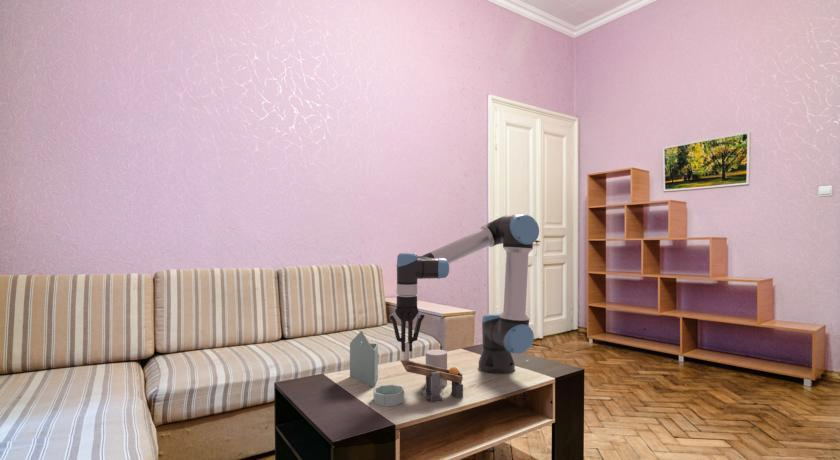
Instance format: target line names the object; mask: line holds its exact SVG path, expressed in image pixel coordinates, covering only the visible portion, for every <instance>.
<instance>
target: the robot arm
mask: <svg viewBox="0 0 840 460" xmlns="http://www.w3.org/2000/svg"><path fill="white" fill-rule="evenodd" d="M539 234H540V226H539V223H538V222H537V220H535V218H534V217H533V216H532V215H528V214H524V213H523V214H522V213H519V214H510V215H509V214H508V215H504V216H500V217H498V218H496V219H494V220H492V221H490V222H488V223H486V224H485V225H482V226H480V229H479V230H476V231H475V232H471V233H470V234H467V235H465V236H463V237H461V238H459V239H456V240H454V241H452V242H449V243H447V244H446V245H444V246H441V247H439V248H436V249H434V250H431V251H429V252H426V254H423V255H418V254H417V253H415V252H410V253H409V252H401V253H399V254H397V257H396V295H397V296H396V308H395V310H394V312H393V313H392V314H389V315H388V316H389V319H390V320H391V321H392V328H393V332H394V335H395V336H394V337H395V339H396V342H399V343H400V345H401V346H400V350H401V352H402V353H403V359H404V360H407V361H409V360H410V352H412V351H413V343H414V342H416V341H417V340H418V338H419V334H420V329H421V324H422V321H423V320H424V318H425V314H423V313H421V312H420V311H419V308H418V279H419V280H422V279H424V280H428V279H432V280H433V279H439V280H440V279H446V278H447V277H448V276H449V273H450V264H451V263H453V262H456V261H458V260H460V259H463V258H465V257H467V256H469V255H471V254H474V253H475V252H477V251H478V252H479V251H480V250H483V249H484V248H486V247H489V248H493V247H494V246H497V245H498V246H499V245H502V249H503V250H504V251H505V252H506V256H505V276H504V291H503V293H504V294H503V295H504V296H503V297H504V298H503V312H502V313H487V314H484V315H483V316H482V318H481V319H482V320H481V326H482V327H481V328H482V329H481V332H482V337H481V338H482V340H481V341H482V349H481V352H480V353H481V354H480V356H479V360H478V369H479V370H480V371H482V372H485V373H490V374H509V373H513V372H514V371H515V368H516V365H515V361H514V358H513V354H517V355H519V354H523V353H526V352H527V351H528V350H529V349H531V347H532V345H533V343H534V339H535V333H534V331H533V330H532V328H531V327H530V318H529V316H528V315H527V313H526V309H527V308H526V305H527V287H528V270H529V269H528V268H529V253H530V252H532V251H533V249H534V247H533V246H534V243H535V242H536V240H537V239H538V238H539ZM397 317H398V319H399V320H400V331H399V327H398V322H397V320H396V319H397ZM416 317H417V319H416V322H415V323H416V324H415V327H414V331H413V323H414V322H413V321H414V320H415V318H416ZM406 322H407V323H406ZM406 325H407V327H406ZM406 328H407V329H406ZM406 330H407V341H406Z"/></svg>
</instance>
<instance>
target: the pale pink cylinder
mask: <svg viewBox="0 0 840 460" xmlns="http://www.w3.org/2000/svg"><path fill="white" fill-rule="evenodd" d="M425 365H434V367H439V368H443V369H448V352H447V350H445V349H444V350H443V349H429V350H426V351H425ZM447 385H448V380H443V379H440V388H443V387H446V386H447Z"/></svg>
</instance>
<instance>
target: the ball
mask: <svg viewBox="0 0 840 460" xmlns="http://www.w3.org/2000/svg"><path fill="white" fill-rule="evenodd" d="M448 370H449V374H453V375H458V374H459V372H460V370H459V369H458V367H456V366H452V367H450V368H449V369H448Z"/></svg>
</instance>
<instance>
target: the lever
mask: <svg viewBox="0 0 840 460" xmlns="http://www.w3.org/2000/svg"><path fill="white" fill-rule="evenodd" d="M400 362H401V365H402V366H403V368H404V369H405V371H406V373H410V374H416V375H422V376H424V377H426V376H429V377H431V372H439V373H440V379H443V380H447V382H448V381H449V382H451V383H452V382H457V383H462V381H463V379H464V377H463V373H461V372H460V371H459V374H458V375H453V374H449V369H448V368H447V369H443V368H439V367H434V366H430V365H426V363H420V362H416V361H414V360H413V361H412V360H410V359H409V361H407V360H404V358H400ZM462 384H463V383H462Z"/></svg>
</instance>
